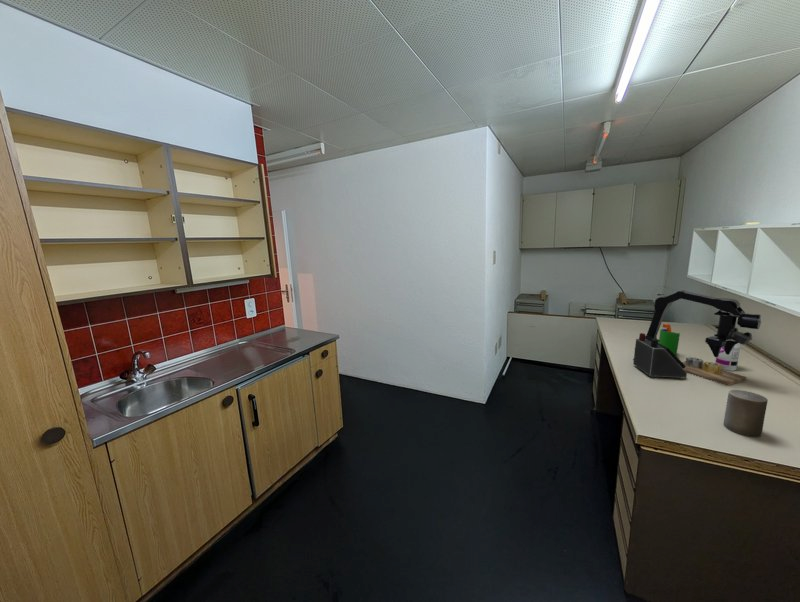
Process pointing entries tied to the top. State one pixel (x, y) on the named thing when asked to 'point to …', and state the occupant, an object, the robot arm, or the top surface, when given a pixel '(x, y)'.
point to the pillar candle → (745, 413)
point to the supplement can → (729, 358)
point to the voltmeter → (657, 359)
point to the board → (715, 375)
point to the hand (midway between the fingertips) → (721, 355)
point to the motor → (669, 338)
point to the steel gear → (694, 363)
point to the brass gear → (712, 368)
